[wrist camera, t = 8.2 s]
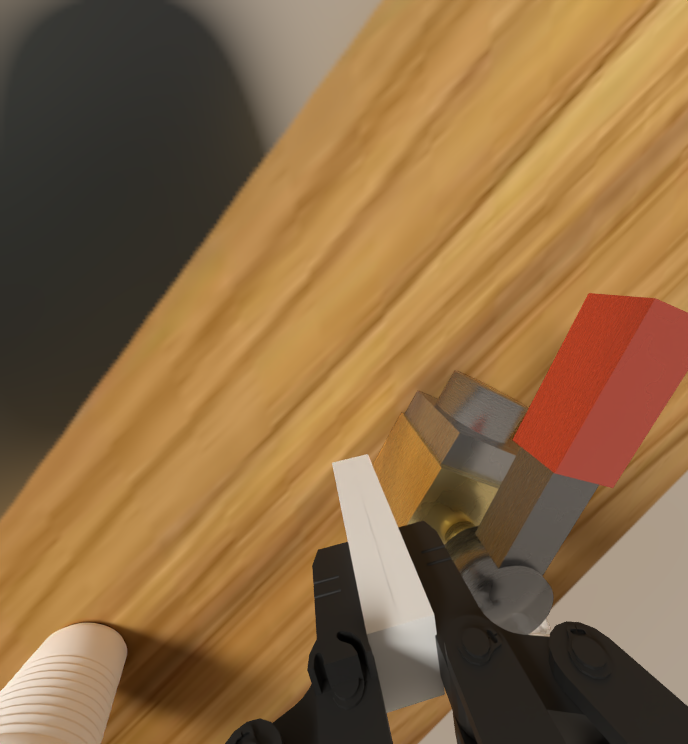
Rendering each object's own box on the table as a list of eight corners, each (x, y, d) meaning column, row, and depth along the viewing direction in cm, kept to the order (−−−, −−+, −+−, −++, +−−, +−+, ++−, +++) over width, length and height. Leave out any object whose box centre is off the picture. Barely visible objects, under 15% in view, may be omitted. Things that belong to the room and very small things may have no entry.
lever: (492, 593, 18) (525, 649, 15) (423, 584, 17) (446, 641, 14) (651, 320, 14) (733, 331, 11) (573, 287, 13) (643, 291, 10)
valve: (413, 543, 28) (458, 650, 20) (340, 522, 26) (358, 630, 18) (507, 393, 24) (605, 451, 16) (431, 358, 23) (500, 404, 15)
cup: (-3, 614, 24) (-231, 874, 14) (137, 591, 25) (23, 816, 15) (44, 697, 27) (-114, 961, 17) (166, 673, 28) (89, 908, 18)
